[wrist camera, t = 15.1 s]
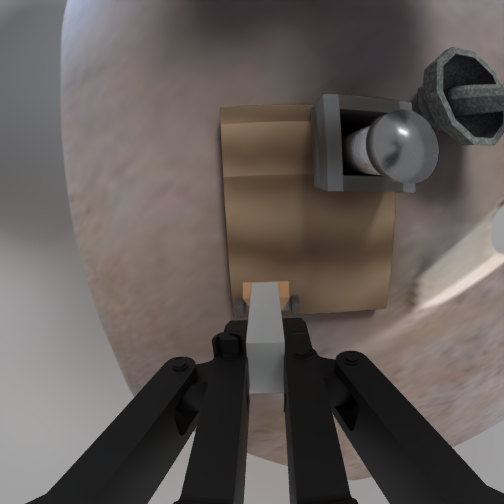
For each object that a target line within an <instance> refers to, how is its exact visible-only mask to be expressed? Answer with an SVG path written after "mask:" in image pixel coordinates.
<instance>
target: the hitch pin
mask: <svg viewBox="0 0 504 504" xmlns="http://www.w3.org/2000/svg"><path fill="white" fill-rule="evenodd" d="M341 141H342V166H343V172H348V173H362V174H374V175H381V176H383V177H384V178H386V179H388V180H390V181H394V182H401V183H408V184H414V183H419V182H421V181H423V180H425V179H426V178H428V177H429V176H430V175H431V174H432V172H433V171H434V169H435V167H436V164H437V161H438V156H439V147H438V141H437V137H436V135H435V132H434V130H433V129H432V127H431V125H430V124H429V123H428V122H427V121H426V120H425V119H424V118H423V117H422V116H421V115H419V114H417V113H416V112H413V111H410V110H404V109H401V110H395V111H392V112H390V113H387V114H385V115H383V116H380V117H379V118H377V119H376V120H375V121H374V122H373V123H372V124H371V126H368V127H365V128H363V129H360V130H358V131H355V132H352V133H350V134H347V135H345V136H342V137H341Z"/></svg>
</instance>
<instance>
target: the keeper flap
mask: <svg viewBox="0 0 504 504" xmlns="http://www.w3.org/2000/svg"><path fill="white" fill-rule="evenodd" d="M252 283H260V282H245V283H243V299H244V301H245V302H246V308H247V312H249V308H250V298H251V288H252ZM277 283H278V290H279V298H280V307H281V311H285V310H289V281H278V282H277Z"/></svg>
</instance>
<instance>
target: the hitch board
mask: <svg viewBox="0 0 504 504" xmlns="http://www.w3.org/2000/svg"><path fill="white" fill-rule="evenodd" d="M401 109H404V110H410V111H412V102H407V101H400V100H393V99H385V98H376V97H367V96H355V95H341V94H322V96H321V97H320V98H319V99H318V101H317V102H316V103H315V105H313V104H280V105H253V106H236V107H224V108H220V122H221V143H222V163H223V181H224V197H225V213H226V229H227V243H228V257H229V270H230V283H231V296H232V308H233V316H236V317H244V316H249V312H247V308H246V302H245V301H244V299H243V283H245V282H278V281H289V310H285V311H281V315H300V314H318V313H335V312H349V311H362V310H373V309H384V308H386V306H387V298H388V291H389V282H390V273H391V263H392V251H393V237H394V218H395V192H408V193H415V183H414V184H408V183H401V182H394V181H390V180H388V179H386V178H384V177H383V176H381V175H374V174H343V166H342V141H341V125H345V126H363V127H368V126H371V124H372V123H373V122H374V121H375V120H376V119H377V118H379V117H380V116H383V115H385V114H387V113H390V112H392V111H395V110H401Z"/></svg>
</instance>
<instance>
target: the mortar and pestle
mask: <svg viewBox="0 0 504 504" xmlns="http://www.w3.org/2000/svg"><path fill="white" fill-rule="evenodd" d="M418 106H419V108H420V110H421V113H422V115H423V117H424V119H425V120H426V121H427V122H428V123H429V124H430V125H431V126H433V127H434V128H435V129H436V130H438V131H444V132H445V133H446V134H448V135H449V136H450V137H451V138H452V139H453V140H454V141H456V142H457V143H460V144H464V145H495V144H496V143H497V142H498V140H499V139H500V137H501V136H502V135H503V133H504V84H500V82H499V80H498V78H497V76H496V74H495V72H494V71H493V70H492V69H491V68H490V67H489V66H488V65H487V64H486V63H485V62H484V61H483V60H482V59H481V58H480V57H479V56H478V55H477V54H476V53H475V52H472V51H468V50H464V49H459V48H454V47H451V48H449V49H447V50H445V51H444V52H443V53H442V54H441V55H440V56H439V57H438V58H437V59H436V60H435V61H433V62H432V63H431V64H430V65H429V66H428V67H427V68H426V69H425V70H424V81H423V84H422V85H421V86H420V87H419V88H418Z"/></svg>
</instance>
